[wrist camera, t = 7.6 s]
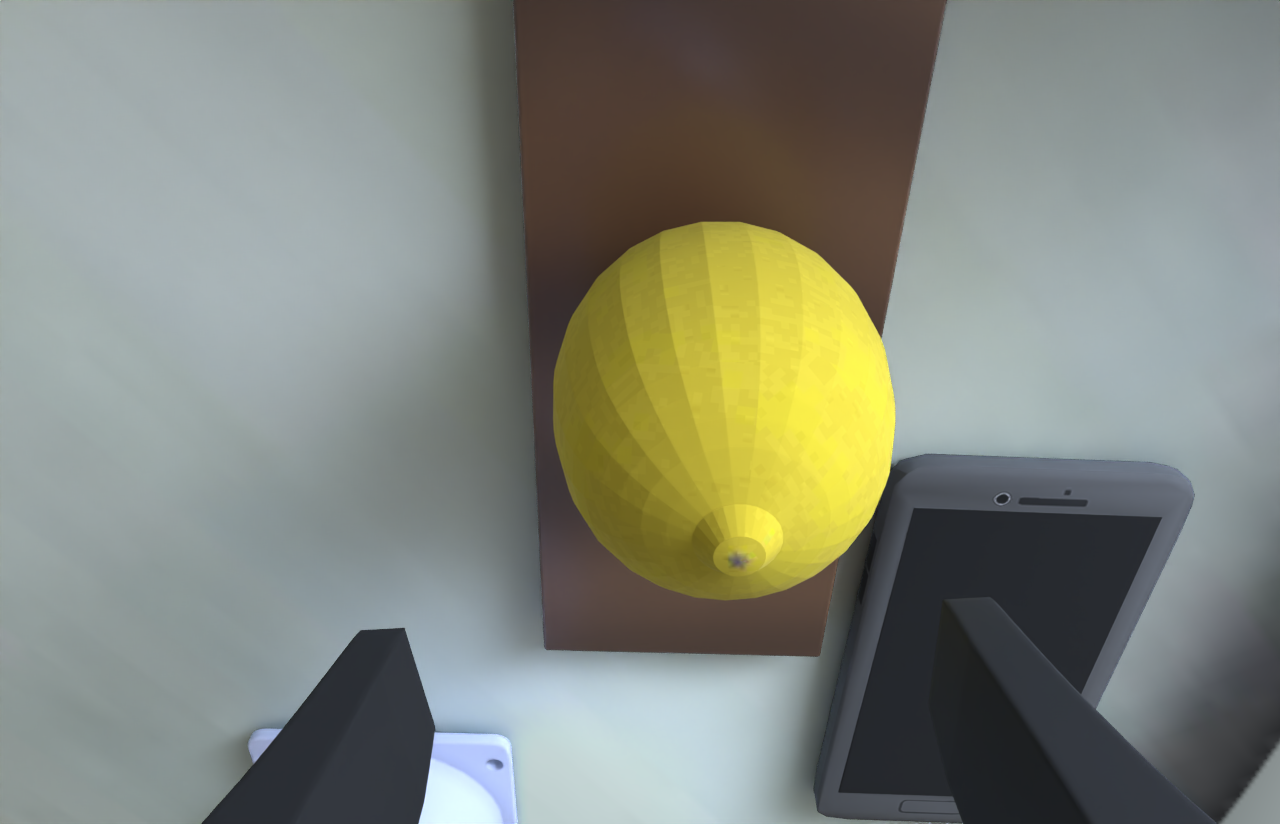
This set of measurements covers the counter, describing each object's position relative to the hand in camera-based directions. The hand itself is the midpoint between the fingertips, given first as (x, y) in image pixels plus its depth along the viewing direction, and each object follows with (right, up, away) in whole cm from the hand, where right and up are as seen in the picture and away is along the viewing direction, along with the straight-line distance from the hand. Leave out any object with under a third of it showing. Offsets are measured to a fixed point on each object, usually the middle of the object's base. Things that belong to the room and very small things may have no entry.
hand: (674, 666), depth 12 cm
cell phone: (+9, -3, +13) cm, 16 cm away
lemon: (+1, +6, +6) cm, 9 cm away
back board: (+1, +6, +7) cm, 9 cm away
